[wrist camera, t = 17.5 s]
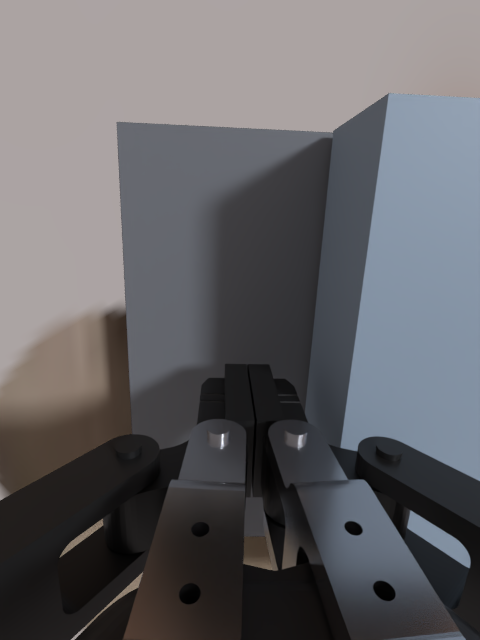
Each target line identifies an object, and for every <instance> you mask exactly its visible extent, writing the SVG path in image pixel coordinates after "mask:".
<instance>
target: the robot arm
mask: <svg viewBox="0 0 480 640" xmlns="http://www.w3.org/2000/svg"><path fill="white" fill-rule="evenodd" d="M251 485H252V495H253V497H262V498H263V517H262V523H263V528H264V533H265V537H266V542H267V547H268V551H269V556H270V560H271V565H272V570H267V569H263V568H258V567H254V566H250V565H245V564H243V555H244V518H245V509H246V497H251ZM410 511H412V512H414V513H416V514H417V515H419V516H420V517H422V518H424V519H425V520H427V521H428V522H430V523H432V524H433V525H435V526H437V527H438V528H440V529H441V530H443V531H445V532H446V533H448V534H449V535H451V536H453V537H454V538H456V539H457V540H458V541H459V542H460V543H461V544H462V545H463V546H464V547H465V548H466V550H467V552H468V554H469V556H470V561H471V563H470V568H468V567H466V566H464V565H462V564H461V563H459V562H458V561H456V560H455V559H453V558H452V557H450V556H449V555H447V554H446V553H444V552H443V551H441V550H440V549H438V548H437V547H435V546H434V545H432V544H431V543H429V542H428V541H426V540H425V539H423V538H422V537H420V536H418V535H417V534H415V533H414V532H412V531H411V530H409V529H408V528H407V526H408V521H409V516H410ZM102 518H103V524H104V525H103V526H102V527H101V528H99V529H98V530H97V531H95V532H94V533H93V534H91V535H90V536H89V537H87V538H86V539H84V540H83V541H82V542H80V543H79V544H78V545H76V546H75V547H74V548H72V549H71V550H70V551H68V552H67V553H66V554H64V555H63V556H62V557H60V555H61V553H62V552H63V550H64V549H65V547H66V546H67V545H68V544H69V543H70V542H71V541H72V540H73V539H75V538H76V537H77V536H79V535H80V534H82V533H83V532H84V531H86V530H87V529H89V528H90V527H91V526H93V525H94V524H95V523H97V522H98V521H100V520H101V519H102ZM59 557H60V558H59ZM142 572H143V574H142V577H141V581H140V584H139V588H137V589H135V590H133V591H131V592H129V593H128V594H126V595H125V596H123V597H122V598H120V599H119V600H117V601H116V602H115V603H113V604H112V605H111V606H110V607H108V608H107V609H106V610H105V611H103V612H102V613H101V614H100V615H99V616H98V617H97V618H96V619H95V620H94V621H93V622H92V623H91V624H90V625H89V626H88V627H87V628H86V629H85V630H84V631H83V632H82V633H81V634H80V635H79V636H78V637H77V638H76V639H75V640H480V481H479V480H477V479H475V478H473V477H470V476H468V475H466V474H464V473H462V472H460V471H458V470H456V469H454V468H452V467H450V466H448V465H446V464H444V463H442V462H440V461H438V460H436V459H434V458H432V457H430V456H428V455H426V454H424V453H422V452H420V451H418V450H416V449H414V448H412V447H410V446H408V445H406V444H404V443H402V442H400V441H398V440H395V439H391V438H387V437H380V436H373V437H368V438H365V439H363V440H362V441H360V443H359V445H358V450H357V451H353V450H348V449H344V448H339V447H335V446H332V445H330V444H328V443H327V441H326V439H325V438H324V436H323V434H322V433H321V431H320V430H319V429H318V428H317V427H315V426H314V425H312V424H310V423H308V420H307V418H306V415H305V413H304V410H303V408H302V405H301V403H300V400H299V397H298V396H297V392H296V390H295V387H294V385H292V384H291V383H290V382H289V381H287V380H286V379H273V375H272V372H271V368H270V365H269V364H248V365H246V364H225V375H224V378H208V379H207V380H206V381H205V382H204V383H203V384H202V385H201V395H200V402H199V411H198V419H197V425H196V426H195V427H194V428H193V429H192V431H191V434H190V438H189V440H188V441H186V442H184V443H182V444H180V445H177V446H174V447H170V448H165V449H160V448H159V444H158V443H157V442H156V441H155V440H154V439H153V438H151V437H149V436H145V435H140V434H130V435H124V436H120V437H117V438H114V439H112V440H110V441H108V442H106V443H104V444H102V445H101V446H99V447H97V448H95V449H93V450H92V451H90V452H88V453H86V454H84V455H82V456H81V457H79V458H77V459H75V460H73V461H71V462H70V463H68V464H66V465H64V466H62V467H61V468H59V469H57V470H55V471H53V472H51V473H50V474H48V475H46V476H44V477H42V478H41V479H39V480H37V481H35V482H33V483H31V484H30V485H28V486H26V487H24V488H22V489H20V490H19V491H17V492H15V493H13V494H11V495H10V496H8V497H6V498H4V499H2V500H0V640H71V639H72V638H73V637H74V636H75V635H76V634H77V633H78V632H79V631H80V630H81V629H82V628H83V627H85V626H86V625H87V624H88V623H89V622H90V621H91V620H92V619H93V618H94V617H95V616H96V615H97V614H98V613H99V612H101V611H102V610H103V609H104V608H105V607H106V606H107V605H108V604H109V603H110V602H111V601H112V600H113V599H114V598H115V597H116V596H118V595H119V594H120V593H121V592H122V591H123V590H124V589H125V588H126V587H127V586H128V585H129V584H130V583H131V582H132V581H133V580H135V579H136V578H137V577H138V576H139V575H140V574H141V573H142Z"/></svg>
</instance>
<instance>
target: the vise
mask: <svg viewBox="0 0 480 640" xmlns="http://www.w3.org/2000/svg"><path fill="white" fill-rule="evenodd" d="M117 137H118V138H117V139H118V159H119V178H120V199H121V219H122V240H123V260H124V279H125V300H126V320H127V340H128V360H129V381H130V401H131V421H132V434H140V435H145V436H149V437H151V438H153V439H154V440H155V441H156V442H157V443H158V444H159V448H160V449H165V448H170V447H174V446H177V445H180V444H182V443H184V442H186V441H188V440H189V438H190V434H191V431H192V429H193V428H194V427H195V426H196V425H197V419H198V411H199V402H200V395H201V385H202V384H203V383H204V382H205V381H206V380H207V379H208V378H224V375H225V364H246V365H248V364H269V365H270V368H271V372H272V375H273V379H286V380H287V381H289V382H290V383H291V384H292V385H294V387H295V390H296V392H297V396H298V397H299V400H300V403H301V405H302V408H303V410H304V413H305V406H306V396H307V386H308V377H309V367H310V357H311V347H312V337H313V327H314V318H315V308H316V298H317V288H318V278H319V268H320V259H321V249H322V239H323V229H324V219H325V209H326V200H327V190H328V180H329V170H330V160H331V150H332V141H333V133H330V132H309V131H307V132H306V131H289V130H269V129H249V128H228V127H208V126H188V125H168V124H147V123H128V122H117ZM262 517H263V498H262V497H253V495H252V485H251V497H246V509H245V518H244V536H262V537H265V533H264V528H263V523H262Z"/></svg>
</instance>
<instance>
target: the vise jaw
mask: <svg viewBox="0 0 480 640" xmlns="http://www.w3.org/2000/svg"><path fill="white" fill-rule="evenodd" d="M305 415H306V418H307V420H308V423H310V424H312V425H314V426H315V427H317V428H318V429H319V430H320V431H321V433H322V434H323V436H324V438H325V439H326V441H327V443H328V444H330V445H332V446H335V447H339V448H344V449H348V450H353V451H357V450H358V445H359V443H360V441H362V440H363V439H365V438H368V437H373V436H380V437H387V438H391V439H395V440H398V441H400V442H402V443H404V444H406V445H408V446H410V447H412V448H414V449H416V450H418V451H420V452H422V453H424V454H426V455H428V456H430V457H432V458H434V459H436V460H438V461H440V462H442V463H444V464H446V465H448V466H450V467H452V468H454V469H456V470H458V471H460V472H462V473H464V474H466V475H468V476H470V477H473V478H475V479H477V480H479V481H480V98H468V97H448V96H429V95H412V94H394V93H393V94H392V93H389V94H387V95H386V96H384V97H383V98H381V99H380V100H378V101H377V102H376V103H374V104H372V105H371V106H369V107H368V108H366V109H365V110H364V111H362V112H361V113H359V114H358V115H356V116H355V117H353V118H352V119H350V120H349V121H347V122H346V123H344V124H343V125H341V126H340V127H339V128H337V129H335V130H334V131H333V141H332V150H331V160H330V170H329V180H328V190H327V200H326V209H325V219H324V229H323V239H322V249H321V259H320V268H319V278H318V288H317V298H316V308H315V318H314V327H313V337H312V347H311V357H310V367H309V377H308V386H307V396H306V406H305ZM407 528H408V529H409V530H411V531H412V532H414V533H415V534H417V535H418V536H420V537H422V538H423V539H425V540H426V541H428V542H429V543H431V544H432V545H434V546H435V547H437V548H438V549H440V550H441V551H443V552H444V553H446V554H447V555H449V556H450V557H452V558H453V559H455V560H456V561H458V562H459V563H461V564H462V565H464V566H466V567H468V568H470V563H471V561H470V556H469V554H468V552H467V550H466V548H465V547H464V546H463V545H462V544H461V543H460V542H459V541H458V540H457V539H456V538H454V537H453V536H451V535H449V534H448V533H446V532H445V531H443V530H441V529H440V528H438V527H437V526H435V525H433V524H432V523H430V522H428V521H427V520H425V519H424V518H422V517H420V516H419V515H417V514H416V513H414V512H412V511H410V516H409V521H408V526H407Z"/></svg>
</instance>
